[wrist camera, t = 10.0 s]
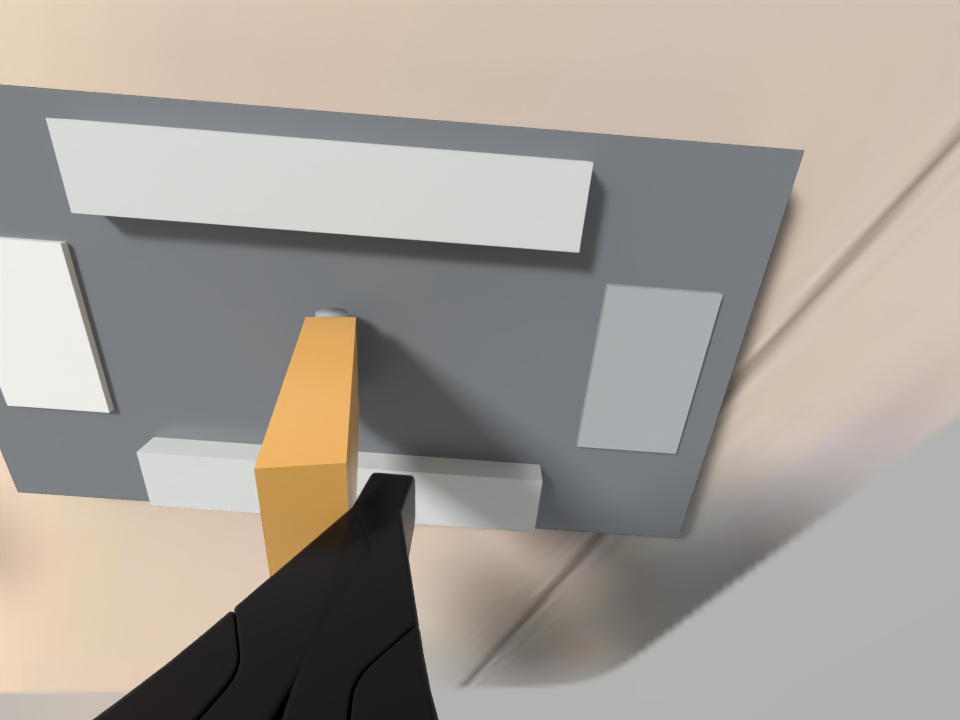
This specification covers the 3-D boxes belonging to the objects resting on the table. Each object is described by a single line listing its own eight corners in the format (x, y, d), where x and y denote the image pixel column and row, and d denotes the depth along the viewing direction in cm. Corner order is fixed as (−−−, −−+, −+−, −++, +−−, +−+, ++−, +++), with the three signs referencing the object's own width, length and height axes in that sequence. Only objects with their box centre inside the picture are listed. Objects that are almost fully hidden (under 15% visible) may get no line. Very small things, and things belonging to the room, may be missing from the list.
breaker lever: (356, 308, 13) (345, 462, 7) (359, 400, 14) (353, 601, 8) (308, 307, 12) (253, 468, 6) (316, 402, 14) (275, 612, 8)
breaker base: (767, 149, 13) (826, 150, 10) (661, 505, 18) (686, 556, 15) (-80, 80, 12) (-203, 66, 10) (57, 462, 17) (-5, 509, 15)
